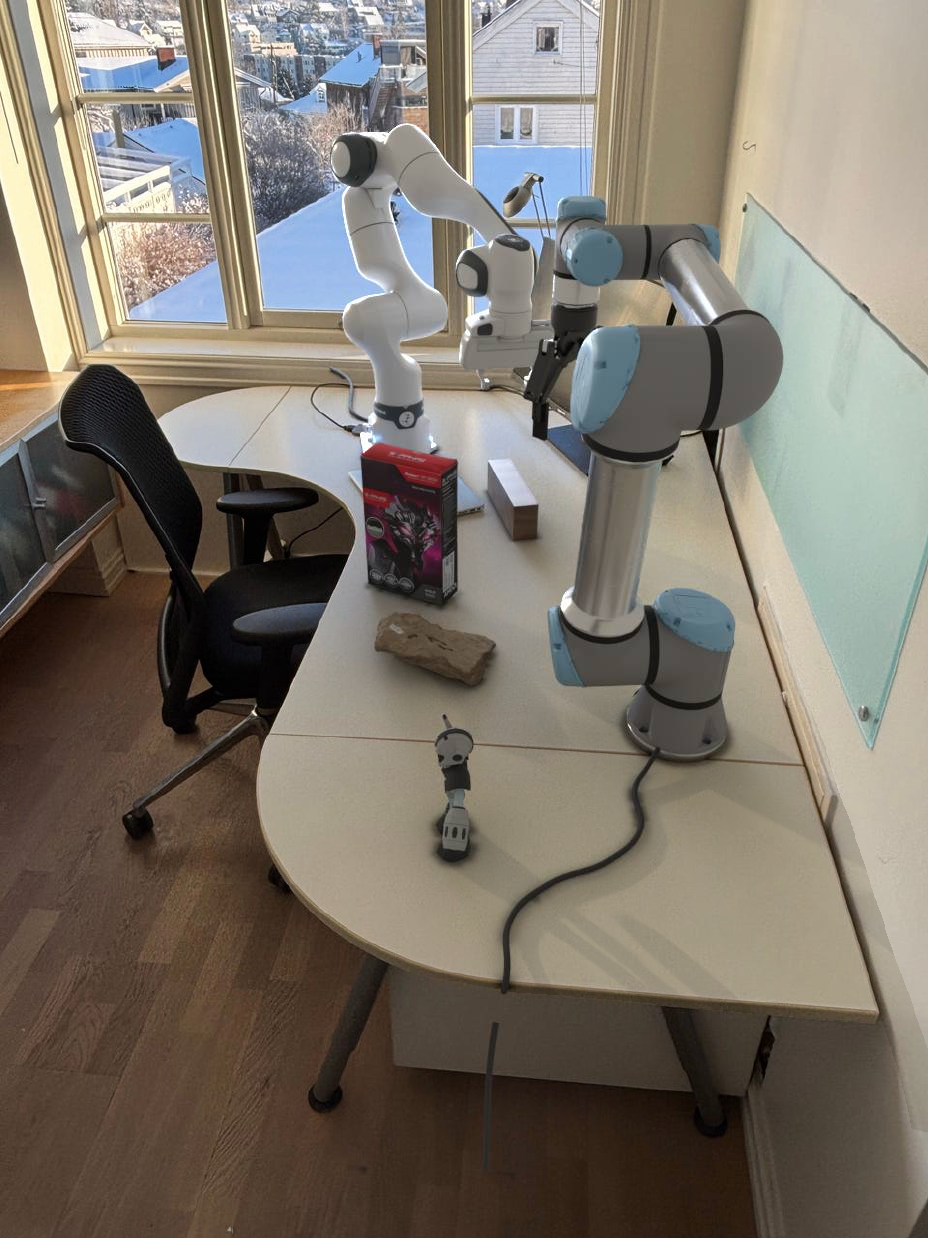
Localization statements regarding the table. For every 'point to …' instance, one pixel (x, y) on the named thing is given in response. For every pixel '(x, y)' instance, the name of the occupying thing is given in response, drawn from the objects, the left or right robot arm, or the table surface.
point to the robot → (454, 790)
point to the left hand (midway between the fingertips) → (506, 387)
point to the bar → (512, 499)
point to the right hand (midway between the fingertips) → (565, 427)
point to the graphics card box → (411, 521)
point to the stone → (434, 646)
